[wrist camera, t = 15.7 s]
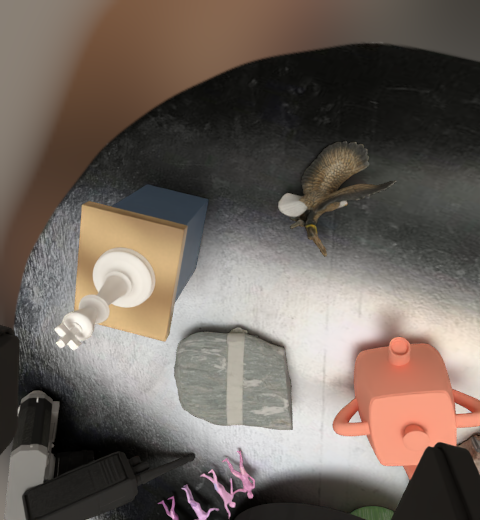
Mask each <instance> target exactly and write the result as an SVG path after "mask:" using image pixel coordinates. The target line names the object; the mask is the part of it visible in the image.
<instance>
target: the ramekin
mask: <svg viewBox="0 0 480 520" xmlns="http://www.w3.org/2000/svg"><path fill="white" fill-rule="evenodd" d="M350 514H352V515H355V516H358V517H361V518H363V519H366V520H391V518H392V516H393V514H394V512H393V511H392V510H389V509H387V508H384V507H379V506H366V507H362V508H359V509H356V510H354V511H353V512H351V513H350Z"/></svg>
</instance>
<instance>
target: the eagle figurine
mask: <svg viewBox="0 0 480 520" xmlns="http://www.w3.org/2000/svg"><path fill="white" fill-rule="evenodd" d="M366 154H367V149H366V148H364V145H362V144H359V145H357V143H356V142H351V143H349V144H347V142H346V141H344V142H342V143H341V142H336V143H333V144H332V145H329V146H328V147H327V148H325V149H324V150H323V152H322V153H320V155H318V157H317V159H315V160H314V162H313V163H312V164H311V166H309V167H308V168H307V169H306V170H305V172H304V174H303V177H302V178H301V180H302V182H301V184H302V185H303V186H302V188H303V189H304V191H303V194H304V196H299V195H294V194H290V193H287V194H285V195H283V197H282V198H281V200H280V201H279V202H278V204H279V205H278V208H279V210H280V211H281V212H282V213H283V214H285V215H287V216H290V219H291V220H293V221H296V223H294V224H292V225H291V226H290V229H293V228H295V227H297V226H302V227H304V226H305V228H306V230H307V234H308V239H309V240H313V241H314V243H315V244H316V245H317V246H318V248H319V249H320V251H321V253H322V254H323V255H324V257H326V256H327V252H326V248H325V247H324V245H323V244H322V243H321V240H320V239H319V238H318V235H317V228H316V224H317V223H318V218H319V217H320V215H322V214H323V213H324V212H326V211H333V210H335V209H337V208H340V207H343V206H346V205H347V201H350V200H359V199H364V198H365V197H368V196H370V195H373V194H376V193H378V192H381V191H384V190H386V189H387V188H389V187H390V186H391V185H393V184H394V183H396V181H390V182H387V183H384V184H380V185H371V184H357V185H353V186H349V187H346V188H343V189H340V190H338V191H337V189H338V188H339V187H340V185H341V184H342V183H343V182H344V181H346V180H347V179H348V178H349V177H351V176H352V175H353V174H355V173H358V172H360V171H361V170H363V169H365V168H366V167H368V166H369V162H368V159H369V156H368V155H366ZM346 200H347V201H346ZM302 213H303V214H302ZM298 216H300V217H298Z"/></svg>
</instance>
